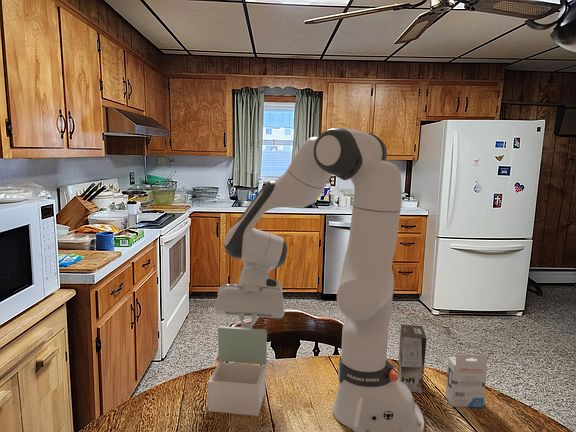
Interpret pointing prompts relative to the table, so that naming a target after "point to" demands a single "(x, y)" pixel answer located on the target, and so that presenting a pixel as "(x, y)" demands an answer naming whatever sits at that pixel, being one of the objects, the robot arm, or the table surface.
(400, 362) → the coffee box
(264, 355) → the box lid
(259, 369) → the storage box
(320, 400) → the table surface
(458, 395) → the ink box
